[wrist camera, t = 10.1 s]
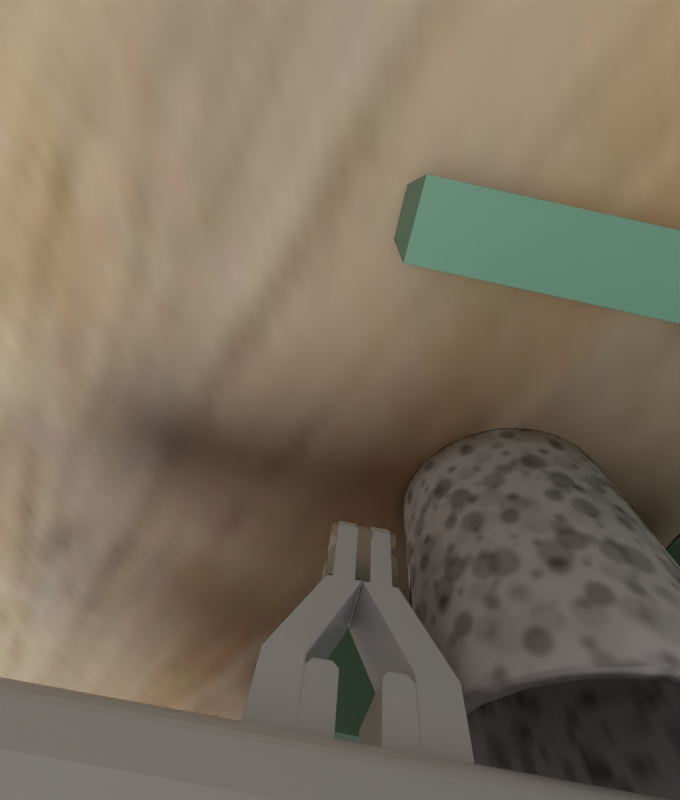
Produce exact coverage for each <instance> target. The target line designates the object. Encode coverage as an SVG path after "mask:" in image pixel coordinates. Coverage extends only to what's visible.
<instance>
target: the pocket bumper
mask: <svg viewBox="0 0 680 800" xmlns="http://www.w3.org/2000/svg"><path fill="white" fill-rule="evenodd" d="M394 240H395V243H396V245H397V248H398V250H399V253H400V256H401V258H402V261H403V263H405V264H410V265H415V266H419V267H424V268H428V269H433V270H437V271H442V272H447V273H451V274H456V275H460V276H465V277H469V278H474V279H478V280H483V281H488V282H492V283H497V284H501V285H506V286H510V287H515V288H520V289H524V290H529V291H533V292H538V293H542V294H547V295H551V296H556V297H561V298H565V299H570V300H574V301H579V302H583V303H588V304H593V305H597V306H602V307H606V308H611V309H615V310H620V311H624V312H629V313H634V314H638V315H643V316H647V317H652V318H656V319H661V320H666V321H670V322H675V323H679V324H680V230H676V229H671V228H667V227H662V226H658V225H653V224H649V223H644V222H639V221H635V220H630V219H626V218H621V217H617V216H612V215H608V214H603V213H599V212H594V211H590V210H585V209H581V208H576V207H572V206H567V205H563V204H558V203H554V202H549V201H545V200H540V199H536V198H531V197H527V196H522V195H518V194H513V193H509V192H504V191H500V190H495V189H491V188H486V187H482V186H477V185H473V184H468V183H464V182H459V181H455V180H450V179H446V178H441V177H437V176H432V175H428V174H426V175H425V176H423V177H421V178H419V179H417V180H415V181H413V182H412V183H410V184H408V185H407V189H406V193H405V197H404V201H403V205H402V209H401V214H400V218H399V222H398V226H397V230H396V234H395V238H394ZM666 551H667V552H668V553H669V554H670V556H671V557H672V558H673V559H674V560H675V562H676V563H677V564H678V565H679V567H680V536H679V537H678V538H677V539H676V540H675V541H674V542H673V544H672V545H671V546H670V547H669V548H668V549H667V550H666ZM327 660H331V661H333V662H334V663H335V665H336V666H337V667H338V668H339V676H338V690H337V704H336V718H335V732H334V738H337V739H342V740H348V741H353V742H359V730H360V727H361V725H362V723H363V721H364V718H365V716H366V714H367V711H368V709H369V707H370V705H371V702H372V700H373V698H374V696H375V691H374V688H373V686H372V683H371V681H370V679H369V676H368V674H367V671H366V669H365V667H364V664H363V662H362V659H361V657H360V655H359V652H358V650H357V647H356V645H355V642H354V640H353V638H352V635H351V633H350V630H349V627H348V630H347V631H346V633H345V634H344V635H343V637H342V638H341V640H340V641H339V643H338V644H337V646H336V647H335V649H334V650H333V652H332V653H331V655H330V656H329V658H328V659H327Z"/></svg>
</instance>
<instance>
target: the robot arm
mask: <svg viewBox="0 0 680 800" xmlns="http://www.w3.org/2000/svg"><path fill="white" fill-rule="evenodd" d="M396 545H397V543H396V534H395V532H393V531H389V530H387V529H382V528H376V527H370V526H365V525H360V524H354V523H349V522H344V521H336V520H333V522H332V526H331V530H330V537H329V541H328V545H327V550H326V555H325V560H324V567H323V573H322V580H321V581H320V582H319V583H318V584H317V586H316V587H315V588H314V589H313V590H312V591H311V592H310V593H309V594H308V595H307V596H306V598H305V599H304V600H303V601H302V602H301V603H300V604H299V605H298V606H297V607H296V608H295V610H294V611H293V612H292V613H291V614H290V615H289V616H288V617H287V618H286V619H285V620H284V622H283V623H282V624H281V625H280V626H279V627H278V628H277V629H276V630H275V631H274V632H273V633H272V635H271V636H270V637H269V638H268V639H267V640H266V641H265V642H264V643H263V644H262V645H261V649H260V653H259V657H258V660H257V664H256V668H255V672H254V676H253V679H252V683H251V687H250V691H249V695H248V698H247V702H246V706H245V710H244V714H243V718H242V721H238V720H232V719H227V718H221V717H216V716H210V715H205V714H199V713H194V712H188V711H183V710H177V709H172V708H166V707H161V706H156V705H150V704H145V703H139V702H134V701H128V700H123V699H117V698H112V697H106V696H101V695H95V694H90V693H84V692H79V691H73V690H68V689H62V688H57V687H51V686H46V685H40V684H35V683H29V682H24V681H18V680H13V679H7V678H2V677H0V800H671V799H665V798H660V797H655V796H649V795H644V794H638V793H633V792H627V791H622V790H616V789H611V788H605V787H600V786H594V785H589V784H583V783H578V782H572V781H567V780H561V779H556V778H551V777H545V776H540V775H534V774H529V773H523V772H518V771H512V770H507V769H501V768H496V767H490V766H485V765H479V764H475V763H474V757H473V751H472V746H471V740H470V734H469V728H468V722H467V716H466V711H465V705H464V699H463V693H462V687H461V683H460V681H459V680H458V678H457V676H456V675H455V673H454V672H453V670H452V669H451V667H450V666H449V664H448V663H447V661H446V660H445V658H444V657H443V655H442V654H441V652H440V650H439V649H438V647H437V646H436V644H435V643H434V641H433V640H432V638H431V637H430V635H429V634H428V632H427V631H426V629H425V628H424V626H423V624H422V623H421V621H420V620H419V618H418V617H417V615H416V614H415V612H414V611H413V609H412V608H411V606H410V605H409V603H408V602H407V600H406V599H405V597H404V595H403V594H402V592H401V591H400V589H399V588H398V587H399V582H398V561H397V559H396V558H395V557H394V555H393V554H394V551H395V548H396ZM348 627H349V630H350V633H351V635H352V638H353V640H354V642H355V645H356V647H357V650H358V652H359V655H360V657H361V659H362V662H363V664H364V667H365V669H366V671H367V674H368V676H369V679H370V681H371V683H372V686H373V688H374V691H375V696H374V698H373V700H372V702H371V705H370V707H369V709H368V711H367V714H366V716H365V718H364V721H363V723H362V725H361V727H360V730H359V742H353V741H348V740H342V739H337V738H334V732H335V718H336V704H337V690H338V676H339V668H338V667H337V666H336V665H335V663H334V662H333V661H331V660H327V659H328V658H329V656H330V655H331V653H332V652H333V650H334V649H335V647H336V646H337V644H338V643H339V641H340V640H341V638H342V637H343V635H344V634H345V633H346V631H347V630H348Z"/></svg>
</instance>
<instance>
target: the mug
mask: <svg viewBox="0 0 680 800" xmlns="http://www.w3.org/2000/svg"><path fill="white" fill-rule="evenodd" d="M403 512H404V525H405V538H406V551H407V564H408V577H409V590H410V603H411V608H412V609H413V611H414V612H415V614H416V615H417V617H418V618H419V620H420V621H421V623H422V624H423V626H424V628H425V629H426V631H427V632H428V634H429V635H430V637H431V638H432V640H433V641H434V643H435V644H436V646H437V647H438V649H439V650H440V652H441V654H442V655H443V657H444V658H445V660H446V661H447V663H448V664H449V666H450V667H451V669H452V670H453V672H454V673H455V675H456V676H457V678H458V680H459V681H460V683H461V687H462V693H463V699H464V705H465V711H466V716H467V722H468V728H469V734H470V740H471V746H472V751H473V757H474V763H475V764H479V765H485V766H490V767H496V768H501V769H507V770H512V771H518V772H523V773H529V774H534V775H540V776H545V777H551V778H556V779H561V780H567V781H572V782H578V783H583V784H589V785H594V786H600V787H605V788H611V789H616V790H622V791H627V792H633V793H638V794H644V795H649V796H655V797H660V798H665V799H671V800H680V567H679V565H678V564H677V563H676V562H675V560H674V559H673V558H672V557H671V556H670V554H669V553H668V552H667V551H666V549H665V548H664V547H663V546H662V545H661V543H660V542H659V541H658V540H657V538H656V537H655V536H654V535H653V534H652V532H651V531H650V530H649V529H648V528H647V526H646V525H645V524H644V523H643V521H642V520H641V519H640V518H639V517H638V515H637V514H636V513H635V512H634V510H633V509H632V508H631V507H630V506H629V504H628V503H627V502H626V501H625V499H624V498H623V497H622V496H621V495H620V493H619V492H618V491H617V490H616V488H615V487H614V486H613V485H612V484H611V482H610V481H609V480H608V479H607V477H606V476H605V475H604V474H603V473H602V471H601V470H600V469H599V468H598V466H597V465H596V464H595V463H594V462H593V461H592V460H591V459H590V458H589V457H588V456H587V455H586V454H585V453H584V452H583V451H582V450H581V449H580V448H579V447H577V446H575V445H574V444H572V443H570V442H568V441H566V440H564V439H562V438H560V437H558V436H555V435H551V434H547V433H543V432H539V431H535V430H524V429H502V430H494V431H488V432H482V433H479V434H476V435H472V436H469V437H466V438H463V439H461V440H459V441H457V442H455V443H453V444H451V445H449V446H447V447H445V448H443V449H441V450H440V451H439V452H438V453H436V454H435V455H434V456H432V457H431V458H430V459H429V460H427V461H426V462H425V463H424V464H423V465H422V466H421V468H420V469H419V470H418V472H417V473H416V474H415V475H414V477H413V478H412V479H411V481H410V484H409V486H408V489H407V491H406V493H405V498H404V505H403Z"/></svg>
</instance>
